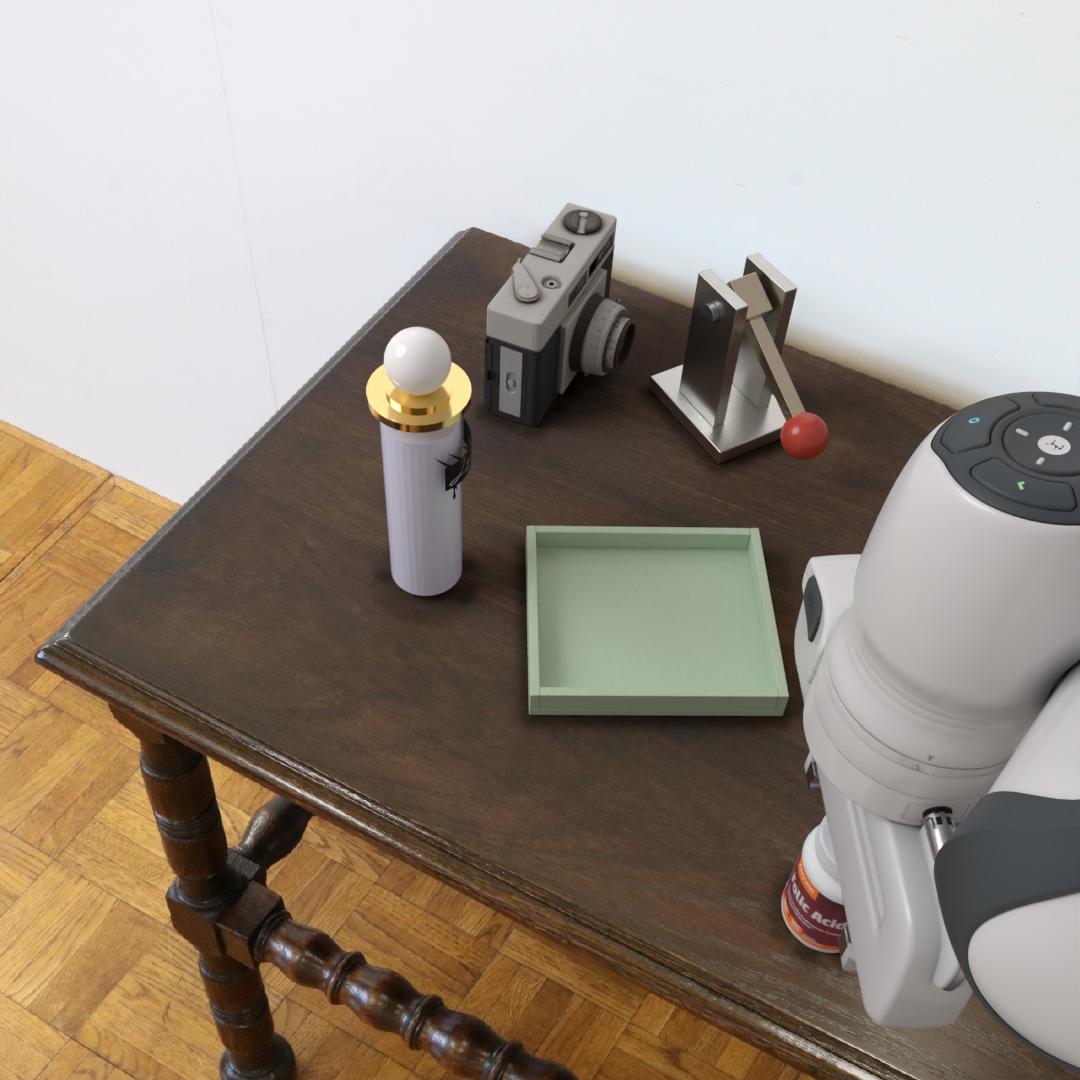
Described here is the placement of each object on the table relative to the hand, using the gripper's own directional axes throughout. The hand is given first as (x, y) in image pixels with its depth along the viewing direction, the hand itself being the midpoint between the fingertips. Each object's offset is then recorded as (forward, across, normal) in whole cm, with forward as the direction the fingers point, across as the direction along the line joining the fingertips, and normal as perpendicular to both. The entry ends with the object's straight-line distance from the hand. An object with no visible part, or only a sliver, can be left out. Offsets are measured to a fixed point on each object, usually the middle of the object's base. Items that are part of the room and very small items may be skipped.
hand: (837, 864), depth 63 cm
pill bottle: (+6, 0, -1) cm, 6 cm away
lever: (0, +36, -2) cm, 36 cm away
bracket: (+6, +39, 0) cm, 39 cm away
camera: (+6, +43, +11) cm, 45 cm away
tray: (+6, +19, +7) cm, 21 cm away
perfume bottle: (+6, +23, +21) cm, 32 cm away
